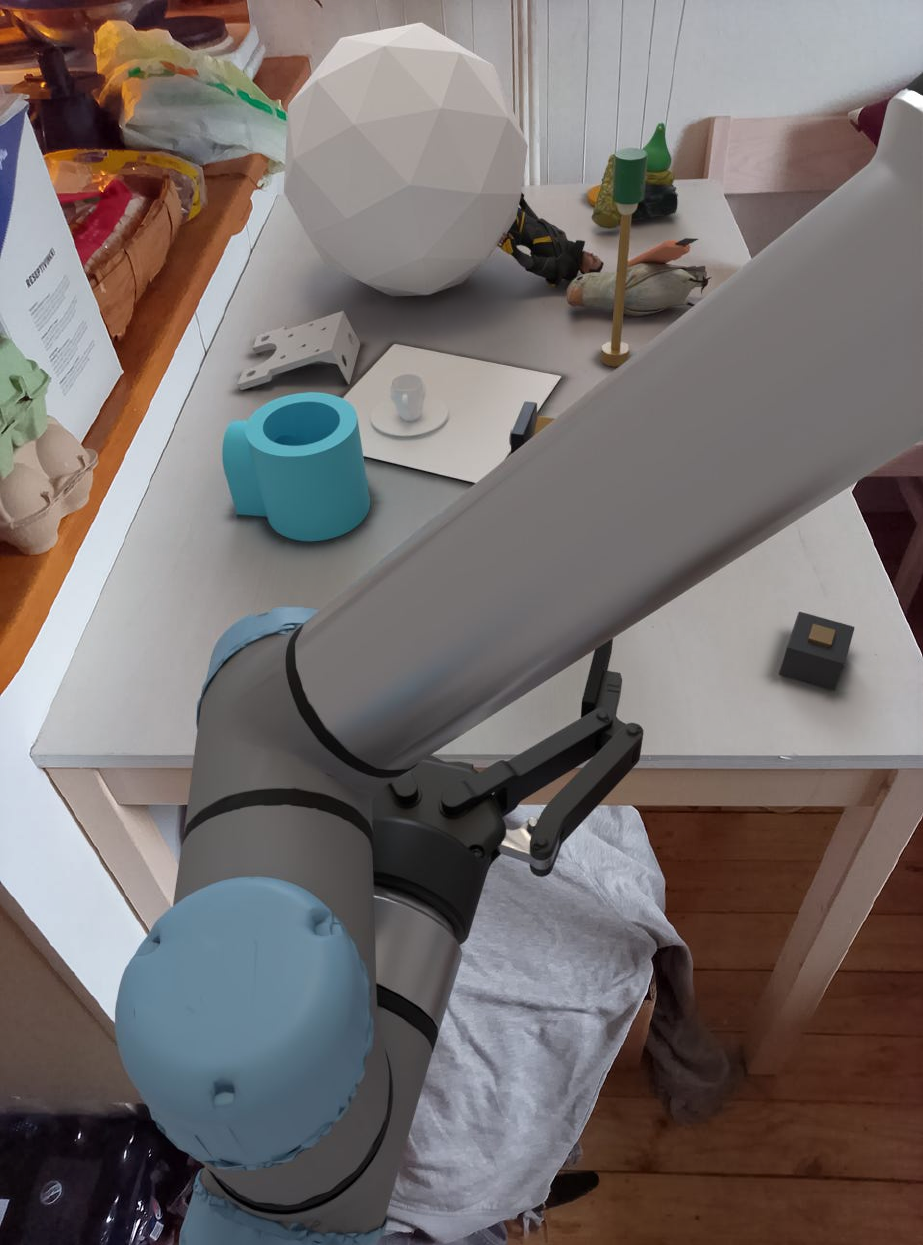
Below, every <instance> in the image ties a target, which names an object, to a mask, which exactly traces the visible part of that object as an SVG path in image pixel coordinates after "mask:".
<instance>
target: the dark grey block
mask: <svg viewBox="0 0 923 1245" xmlns="http://www.w3.org/2000/svg"><path fill="white" fill-rule="evenodd" d="M854 631H855V626H853V625H849V624H846V623H842V622H839V621H835V620H832V619H828V618H825V617H820V616H817V615H814V614H810V613H806V612H802V611H799V612H798V613H797V616H796V619H795V621H794V625H793V628H792V631H791V633H790V637H789V640H788V643H787V645H786V646H787V647H786V649H785V652H784V655H783V659H782V662H781V665H780V668H779V671H778V674H779V675H780V676H782V677H786V678H789V679H793V680H797V681H800V682H802V683H806V684H809V685H812V686H816V687H819V688H823V689H826V690H829V691H833V692H834V691H836V689H837V686H838V683H839V681H840V678H841V675H842V673H843V671H844V668H845V666H846V661H847V658H848V654H849V651H850V647H851V642H852V639H853V635H854Z"/></svg>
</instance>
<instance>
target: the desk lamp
mask: <svg viewBox="0 0 923 1245" xmlns="http://www.w3.org/2000/svg"><path fill="white" fill-rule="evenodd" d="M642 149H643V148H637V147H627V148H622V149H618V150H617V151H615V153H614V154H615V158H614V173H613V187H612V200H613V201H614V202H616V203H617V209H618V211H619V212H620V213H621V223H620V222H619V236H618V238H619V239H618V248H617V249H618V250H617V260H616V261H617V264H616V271H617V274H616V287H615V300H614V310H613V313H612V314H613V315H612V327H611V340H610V341H606V342H604V343H603V344H602V345H601V348H600V362H601V363H602V364H604V365H606V366H609V367H613V368H614V367H619V366H621V365H622V364H623V363H624V362H626V361H627V360H628V359H629V358H630V350H631V349H630V348H631V346H630V345H629V344H628V343H626V342H624V341H622V331H623V321H624V320H623V319H624V313H623V310H624V298H625V287H626V275H627V263H628V261H629V250H630V241H631V240H630V239H631V238H630V237H631V227H632V226H631V225H632V219H631V216H632V213H634V212H635V210H636V209H637V206H638V203H639V202H641V201H642V200H643V199H644V191H645V180H646V169H647V159H648V153H647V152H646V151H644V150H642Z"/></svg>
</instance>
